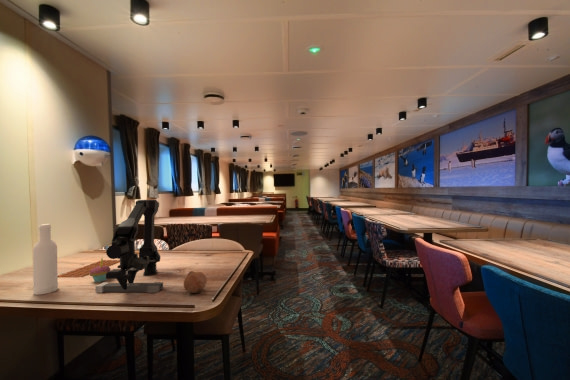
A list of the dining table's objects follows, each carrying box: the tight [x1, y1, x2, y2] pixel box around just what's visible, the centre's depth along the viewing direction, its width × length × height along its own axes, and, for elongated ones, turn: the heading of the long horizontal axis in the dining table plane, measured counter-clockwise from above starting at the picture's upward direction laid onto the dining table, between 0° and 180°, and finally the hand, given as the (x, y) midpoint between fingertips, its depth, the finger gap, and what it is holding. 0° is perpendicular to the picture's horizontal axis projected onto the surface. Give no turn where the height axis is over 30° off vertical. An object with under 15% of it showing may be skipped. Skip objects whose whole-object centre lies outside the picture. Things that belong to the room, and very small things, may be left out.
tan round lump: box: [183, 270, 208, 294], centre depth 105 cm, size 10×9×10 cm
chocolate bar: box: [57, 259, 120, 279], centre depth 141 cm, size 14×30×1 cm, turn 177°
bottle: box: [32, 223, 59, 296], centre depth 108 cm, size 8×8×30 cm
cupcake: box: [89, 257, 112, 283], centre depth 121 cm, size 9×8×12 cm
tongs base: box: [94, 281, 161, 294], centre depth 107 cm, size 28×5×3 cm, turn 88°
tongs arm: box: [109, 281, 164, 291], centre depth 109 cm, size 24×2×3 cm, turn 88°
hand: (128, 287), depth 108 cm, fingers open, 3 cm apart
